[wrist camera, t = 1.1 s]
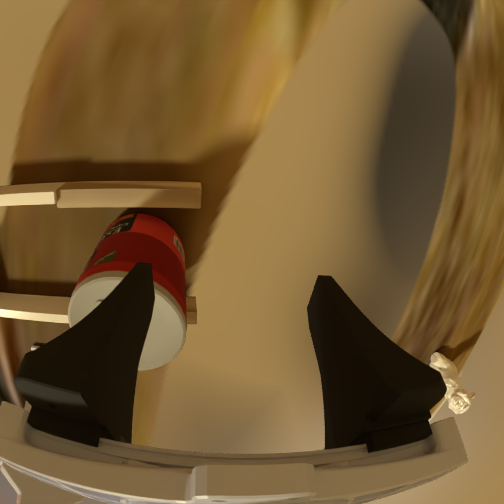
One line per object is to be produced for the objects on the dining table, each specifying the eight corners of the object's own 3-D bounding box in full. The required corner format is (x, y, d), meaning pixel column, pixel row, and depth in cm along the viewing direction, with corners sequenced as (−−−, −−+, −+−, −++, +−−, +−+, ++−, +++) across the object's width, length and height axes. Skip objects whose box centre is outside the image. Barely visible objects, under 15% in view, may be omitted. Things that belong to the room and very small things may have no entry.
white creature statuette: (433, 350, 45) (470, 396, 35) (458, 346, 48) (492, 386, 37) (408, 386, 49) (437, 431, 39) (434, 380, 52) (463, 420, 41)
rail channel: (195, 308, 31) (196, 324, 29) (83, 305, 28) (77, 320, 26) (200, 182, 25) (201, 190, 23) (66, 182, 23) (56, 189, 20)
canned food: (124, 194, 24) (88, 252, 15) (201, 238, 28) (211, 314, 18) (90, 262, 26) (54, 340, 17) (161, 298, 30) (156, 384, 20)
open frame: (83, 305, 28) (76, 323, 26) (-6, 298, 25) (-17, 314, 23) (66, 182, 23) (53, 191, 20) (-32, 189, 20) (-48, 198, 17)
